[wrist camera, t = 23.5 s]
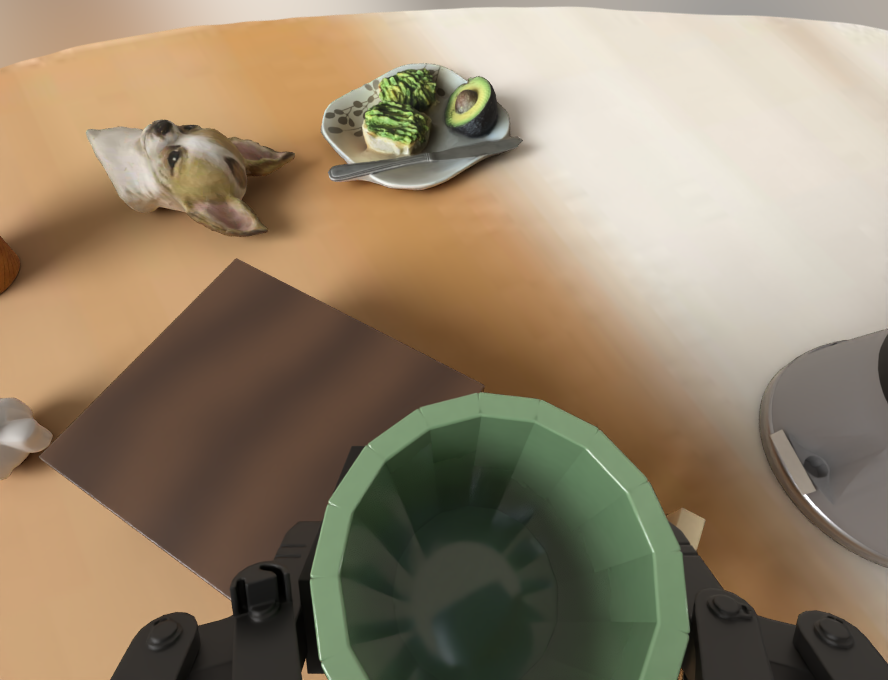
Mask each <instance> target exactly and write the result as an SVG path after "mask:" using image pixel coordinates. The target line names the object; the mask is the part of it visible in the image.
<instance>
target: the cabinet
mask: <svg viewBox="0 0 888 680" xmlns="http://www.w3.org/2000/svg"><path fill="white" fill-rule="evenodd" d="M480 392H483V393H484V385H483V384H481V383H479V382H477V381H475V380H473V379H471V378H469V377H467V376H466V375H464V374H462V373H460V372H458V371H456V370H454V369H452V368H450V367H448V366H446V365H444V364H442V363H440V362H438V361H436V360H434V359H432V358H430V357H428V356H426V355H424V354H423V353H421V352H419V351H417V350H415V349H413V348H411V347H409V346H407V345H405V344H403V343H401V342H399V341H397V340H395V339H393V338H391V337H389V336H387V335H385V334H383V333H381V332H380V331H378V330H376V329H374V328H372V327H370V326H368V325H366V324H364V323H362V322H360V321H358V320H356V319H354V318H352V317H350V316H348V315H346V314H344V313H342V312H340V311H338V310H337V309H335V308H333V307H331V306H329V305H327V304H325V303H323V302H321V301H319V300H317V299H315V298H313V297H311V296H309V295H307V294H305V293H303V292H301V291H299V290H297V289H296V288H294V287H292V286H290V285H288V284H286V283H284V282H282V281H280V280H278V279H276V278H274V277H272V276H270V275H268V274H266V273H264V272H262V271H260V270H258V269H256V268H254V267H253V266H251V265H249V264H247V263H245V262H243V261H241V260H239V259H237V258H236V259H235V260H234V261H233V262H232V263H231V264H230V265H229V266H228V267H227V268H226V269H225V270H224V271H223V272H222V273H221V274H220V275H219V276H218V277H217V278H216V279H215V280H214V281H213V282H212V283H211V284H210V285H209V286H208V287H207V288H206V289H205V290H204V291H203V292H202V293H201V294H200V295H199V296H198V297H197V298H196V299H195V300H194V301H193V302H192V303H191V304H190V305H189V306H188V307H187V308H186V309H185V310H184V311H183V312H182V313H181V314H180V315H179V316H178V317H177V318H176V319H175V320H174V321H173V322H172V323H171V324H170V325H169V326H168V327H167V328H166V329H165V330H164V331H163V332H162V333H161V334H160V335H159V336H158V337H157V338H156V339H155V340H154V341H153V342H152V343H151V344H150V345H149V346H148V347H147V348H146V349H145V350H144V351H143V352H142V353H141V354H140V355H139V356H138V357H137V358H136V359H135V360H134V361H133V362H132V363H131V364H130V365H129V366H128V367H127V368H126V369H125V370H124V371H123V372H122V373H121V374H120V375H119V376H118V377H117V378H116V379H115V380H114V381H113V382H112V383H111V384H110V385H109V386H108V387H107V388H106V389H105V390H104V391H103V392H102V393H101V394H100V395H99V396H98V397H97V398H96V399H95V400H94V401H93V402H92V403H91V405H90V406H89V407H88V408H87V409H86V410H85V411H84V412H83V413H82V414H81V415H80V416H79V417H78V418H77V419H76V420H75V421H74V422H73V423H72V424H71V425H70V426H69V427H68V428H67V429H66V430H65V431H64V432H63V433H62V434H61V435H60V436H59V437H58V438H57V439H56V440H55V441H54V442H53V443H52V444H51V445H50V446H49V447H48V448H47V449H46V450H45V451H44V452H43V453H42V454H41V455H40V456H39V458H40V459H41V460H42V461H44V462H45V463H46V464H48V465H49V466H50V467H52V468H53V469H54V470H56V471H57V472H58V473H60V474H61V475H62V476H64V477H65V478H66V479H68V480H69V481H71V482H72V483H73V484H75V485H76V486H77V487H79V488H80V489H81V490H83V491H84V492H85V493H87V494H88V495H89V496H91V497H92V498H93V499H95V500H96V501H97V502H99V503H100V504H101V505H103V506H104V507H106V508H107V509H108V510H110V511H111V512H112V513H114V514H115V515H116V516H118V517H119V518H120V519H122V520H123V521H124V522H126V523H127V524H128V525H130V526H131V527H132V528H134V529H135V530H136V531H138V532H139V533H141V534H142V535H143V536H145V537H146V538H147V539H149V540H150V541H151V542H153V543H154V544H155V545H157V546H158V547H159V548H161V549H162V550H163V551H165V552H166V553H167V554H169V555H170V556H171V557H173V558H174V559H175V560H177V561H178V562H180V563H181V564H182V565H184V566H185V567H186V568H188V569H189V570H190V571H192V572H193V573H194V574H196V575H197V576H198V577H200V578H201V579H202V580H204V581H205V582H206V583H208V584H209V585H210V586H212V587H213V588H215V589H216V590H217V591H219V592H220V593H221V594H223V595H224V596H225V597H227V598H228V599H229V600H231V595H230V589H229V588H230V585H231V582H232V580H233V579H234V577H235V576H236V575H237V574H238V573H239V572H240V571H242V570H243V569H245V568H246V567H248V566H250V565H253V564H255V563H258V562H264V561H273V559H274V557H275V555H276V553H277V551H278V548H279V547H280V544H281V542H282V540H283V538H284V536H285V534H286V532H287V531H288V530H290V529H291V528H292V527H293V526H294V525H295V524H296V523H297V522H298V521H322V519H323V517H324V514H325V510H326V506H327V505H328V504H329V503H328V501H329V499H330V498H331V496H332V494H333V492H334V489H335V487H336V484H337V482H338V479H339V477H340V474H341V472H342V469H343V467H344V464H345V462H346V459H347V456H348V454H349V451H350V449H351V446H368V443H369V442H371V441H372V440H374V439H375V438H376V437H378V436H379V435H381V434H382V433H383V432H385V431H386V430H388V429H389V428H390V427H392V426H393V425H395V424H396V423H398V422H399V421H400V420H402V419H403V418H405V417H406V416H407V415H409V414H410V413H412V412H413V411H414V410H416V409H420V408H421V407H423V406H427V405H431V404H435V403H439V402H442V401H446V400H450V399H454V398H458V397H462V396H466V395H470V394H474V393H478V394H479V393H480Z"/></svg>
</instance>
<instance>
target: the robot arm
mask: <svg viewBox="0 0 888 680" xmlns="http://www.w3.org/2000/svg"><path fill="white" fill-rule="evenodd" d="M759 426H760V434H761V440H762V444H763V448H764V451H765V454H766V457H767V459H768V462H769V464H770V466H771V468H772V470H773V472H774V474H775V476H776V478H777V480H778V481H779V483H780V484H781V486H782V487H783V489H784V490H785V492H786V493H787V495H788V496H789V497H790V499H791V500H792V501H793V502H794V504H795V505H796V506H797V507H798V508H799V509H800V510H801V512H802V513H803V514H804V515H805V516H806V517H807V518H808V519H809V520H810V521H811V522H812V523H813V524H815V525H816V526H817V527H818V528H819V529H820V530H821V531H823V532H824V533H825V534H826V535H828V536H829V537H830V538H832V539H833V540H834V541H836V542H837V543H839V544H840V545H842V546H843V547H845V548H847V549H848V550H850V551H852V552H854V553H855V554H857V555H859V556H861V557H863V558H865V559H867V560H869V561H872V562H874V563H876V564H879V565H882V566H884V567H887V568H888V329H885V330H881V331H878V332H874V333H871V334H867V335H864V336H860V337H857V338H854V339H851V340H843V341H838V342H833V343H829V344H825V345H822V346H819V347H817V348H815V349H812V350H810V351H808V352H806V353H804V354H802V355H800V356H799V357H797V358H796V359H794V360H793V361H792V362H790V363H789V364H788V365H786V366H785V367H784V368H783V369H781V370H780V371H779V372H778V373H777V374H776V375H775V376H774V377H773V379H772V380H771V381H770V383H769V384H768V386H767V388H766V390H765V392H764V395H763V398H762V401H761V406H760V414H759ZM364 447H365V446H351V449H350V451H349V454H348V456H347V459H346V462H345V464H344V467H343V469H342V472H341V474H340V477H339V479H338V482H337V484H336V487H335V489H334V492H335V490H336V489H337V487H338V486H339V484H340V483H341V481H342V480H343V478H344V477H345V475H346V474H347V472H348V471H349V469H350V468H351V466H352V465H353V463H354V462H355V460H356V459H357V457H358V456H359V454H360V453H361V451H362V450H363V448H364ZM334 492H333V493H334ZM332 495H333V494H332ZM323 518H324V517H323ZM668 522H669V521H668ZM322 523H323V519H322V521H298V522H297V523H296V524H295V525H294V526H293V527H292V528H291V529H290V530H288V531H287V532H286V534H285V536H284V538H283V540H282V542H281V544H280V547H279V548H278V551H277V553H276V555H275V557H274V559H273V561H264V562H258V563H255V564H253V565H250V566H248V567H246V568H245V569H243V570H242V571H240V572H239V573H238V574H237V575H236V576H235V577H234V579H233V580H232V582H231V585H230V588H229V589H230V595H231V602H232V609H233V615H232V616H230V617H228V618H225V619H222V620H219V621H215V622H211V623H207V624H203V625H199V626H198V624H197V621H196V619H195V617H194V616H192V615H190V614H188V613H183V612H175V613H171V614H166V615H163V616H161V617H159V618H157V619H155V620H153V621H151V622H150V623H148V624H147V625H146V626H144V627H143V628H142V629H141V630H140V631H139V632H138V633H137V635H136V636H135V637H134V639H133V640H132V642H131V644H130V645H129V647H128V649H127V651H126V653H125V654H124V656H123V658H122V660H121V661H120V663H119V665H118V667H117V669H116V670H115V672H114V674H113V676H112V677H111V679H110V680H302V675H301V672H302V668H303V665H304V662H305V659H306V662H307V671H308V674H325V673H324V671H323V669H322V667H321V663H322V662H320V660H319V657H318V648H317V640H316V631H315V623H314V615H313V606H312V598H311V590H310V579H311V577H310V572H311V568H312V564H313V560H314V556H315V552H316V548H317V543H318V539H319V535H320V531H321V527H322ZM669 524H670V526H671V528H672V530H673V533H674V535H675V537H676V539H677V541H678V543H679V545H680V548H681V550H680V551H681V552H682V554H683V563H684V573H685V583H686V593H687V604H688V614H689V624H690V633H689V634H688V635H689V641H688V645H687V648H686V652H685V655H684V659H683V662H682V666H681V667H682V669H683V671H684V672H683V678H682V680H888V664H887V662H886V661H885V660H884V659H883V657H882V656H881V655H880V654H879V652H878V651H877V650H876V649H875V647H874V646H873V645H872V644H871V642H870V641H869V640H868V639H867V637H866V636H865V635H864V634H862V633H861V632H860V631H859V630H858V629H857V628H856V627H855V626H853V625H851V624H850V623H848V622H847V621H845V620H844V619H841V618H839V617H837V616H834V615H832V614H830V613H826V612H821V611H816V610H815V611H805V612H803V613H801V614H799V616H798V620H797V624H796V625H792V624H788V623H784V622H780V621H776V620H772V619H768V618H764V617H761V616H758V615H757V614H756V612H755V610H754V608H752V607H751V606H750V605H749V604H748V603H747V602H746V601H745V600H744V599H742V598H740V597H739V596H737V595H736V594H734V593H731V592H728V591H725V590H724V589H723V588H722V587H721V585H720V584H719V582H718V581H717V580H716V578H715V577H714V575H713V574H712V573H711V571H710V570H709V568H708V567H707V566H706V564H705V563H704V561H703V560H702V559H701V557H700V556H698V554H697V552H696V550H695V549H694V547H693V546H692V545H690V542H689V540H688V539H687V538H686V536H685V535H684V533H683V532H682V531H681V530H680V529H679V528H678V527H676V526H675V525H673V524H672V523H671V522H669Z"/></svg>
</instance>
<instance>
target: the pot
mask: <svg viewBox="0 0 888 680" xmlns="http://www.w3.org/2000/svg"><path fill="white" fill-rule="evenodd" d="M647 481H648V479H647V477H646V476H645V475H644V474H643V473H642V472H641V471H640V470H639V469H638V468H637V467H636V466H635V465H634V464H633V463H632V462H631V461H630V460H629V459H628V458H627V457H626V456H625V455H624V454H623V453H622V452H621V451H620V450H619V449H618V448H617V447H616V445H615V444H614V443H613V442H612V441H611V440H610V439H609V438H608V437H607V436H606V435H605V434H604V433H603V432H602V431H601V430H599V429H598V428H597V427H595V426H593V425H591V424H589V423H587V422H585V421H583V420H581V419H579V418H577V417H575V416H573V415H571V414H569V413H567V412H565V411H563V410H561V409H559V408H557V407H555V406H553V405H551V404H550V403H548V402H546V401H544V400H540V399H535V398H526V397H517V396H509V395H500V394H492V393H483V392H480V393H479V394H478V393H474V394H470V395H466V396H462V397H458V398H454V399H450V400H446V401H442V402H439V403H435V404H431V405H427V406H423V407H421V408H420V409H416V410H414V411H413V412H412V413H410V414H409V415H407V416H406V417H405V418H403V419H402V420H400V421H399V422H398V423H396V424H395V425H393V426H392V427H390V428H389V429H388V430H386V431H385V432H383V433H382V434H381V435H379V436H378V437H376V438H375V439H374V440H372V441H371V442H369V443H368V446H365V447H364V448H363V450H362V451H361V453H360V454H359V456H358V457H357V459H356V460H355V462H354V463H353V465H352V466H351V468H350V469H349V471H348V472H347V474H346V475H345V477H344V478H343V480H342V481H341V483H340V484H339V486H338V487H337V489H336V490H335V492H334V493H333V495H332V496H331V498H330V499H329V501H328V503H329V504H328V505H327V506H326V510H325V514H324V518H323V523H322V527H321V531H320V535H319V539H318V543H317V548H316V552H315V556H314V560H313V564H312V568H311V572H310V577H311V579H310V590H311V598H312V606H313V615H314V623H315V631H316V640H317V648H318V657H319V660H320V662H322V663H321V667H322V669H323V671H324V673H325V675H326V677H327V679H328V680H678V676H679V673H680V669H681V666H682V662H683V659H684V655H685V652H686V648H687V645H688V641H689V635H688V634H689V633H690V624H689V614H688V604H687V593H686V583H685V573H684V563H683V554H682V552H681V551H680V550H681V548H680V545H679V543H678V541H677V539H676V537H675V535H674V533H673V530H672V528H671V526H670V524H669V522H668V520H667V518H666V515H665V513H664V511H663V509H662V507H661V505H660V503H659V501H658V498H657V496H656V494H655V492H654V490H653V488H652V486H651V484H650V482H647Z"/></svg>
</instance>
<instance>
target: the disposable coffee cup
mask: <svg viewBox="0 0 888 680" xmlns="http://www.w3.org/2000/svg"><path fill="white" fill-rule="evenodd" d="M19 268H20V260H19V257H18V256H17V254H16V253H15V252H14V251H13V250H12V249H11V248H10V247H9V245H8V244H7V243H6V242H5V241H4V240H3V239H2V238H1V236H0V293H2V292H3V291H4V290H5V289H7V288H8V287H9V286H10V284H11V283H12V282H13V281H14V279H15V278H16V276H17V274H18V272H19Z"/></svg>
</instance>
